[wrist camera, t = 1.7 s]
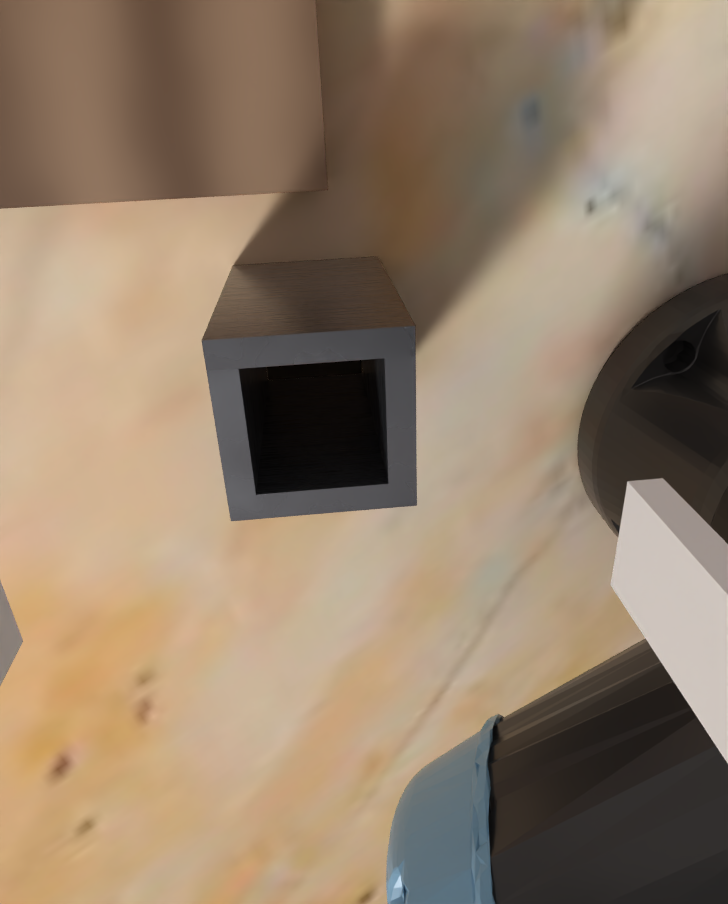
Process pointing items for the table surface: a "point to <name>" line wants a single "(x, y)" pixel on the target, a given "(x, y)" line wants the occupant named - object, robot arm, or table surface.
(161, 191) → the tang block
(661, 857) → the robot arm
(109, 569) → the table surface
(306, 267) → the hollow square tube
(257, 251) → the table surface
